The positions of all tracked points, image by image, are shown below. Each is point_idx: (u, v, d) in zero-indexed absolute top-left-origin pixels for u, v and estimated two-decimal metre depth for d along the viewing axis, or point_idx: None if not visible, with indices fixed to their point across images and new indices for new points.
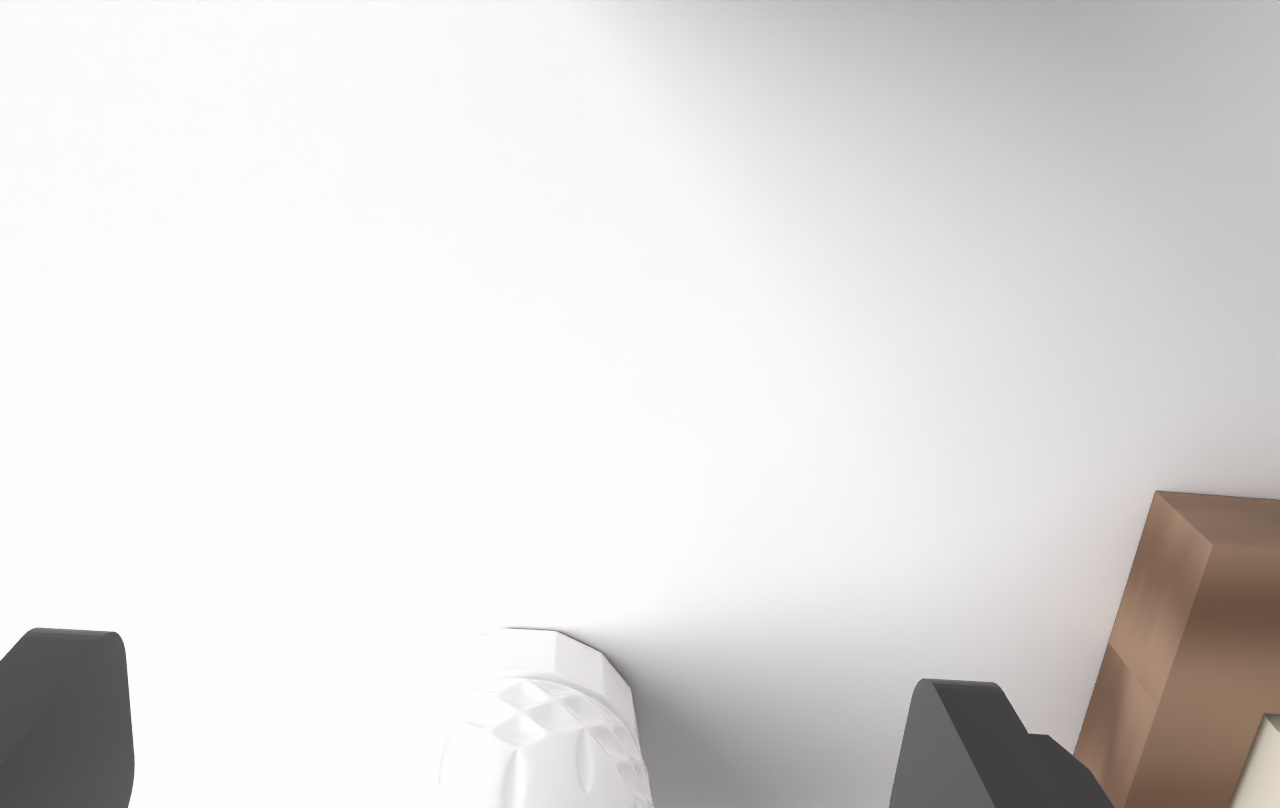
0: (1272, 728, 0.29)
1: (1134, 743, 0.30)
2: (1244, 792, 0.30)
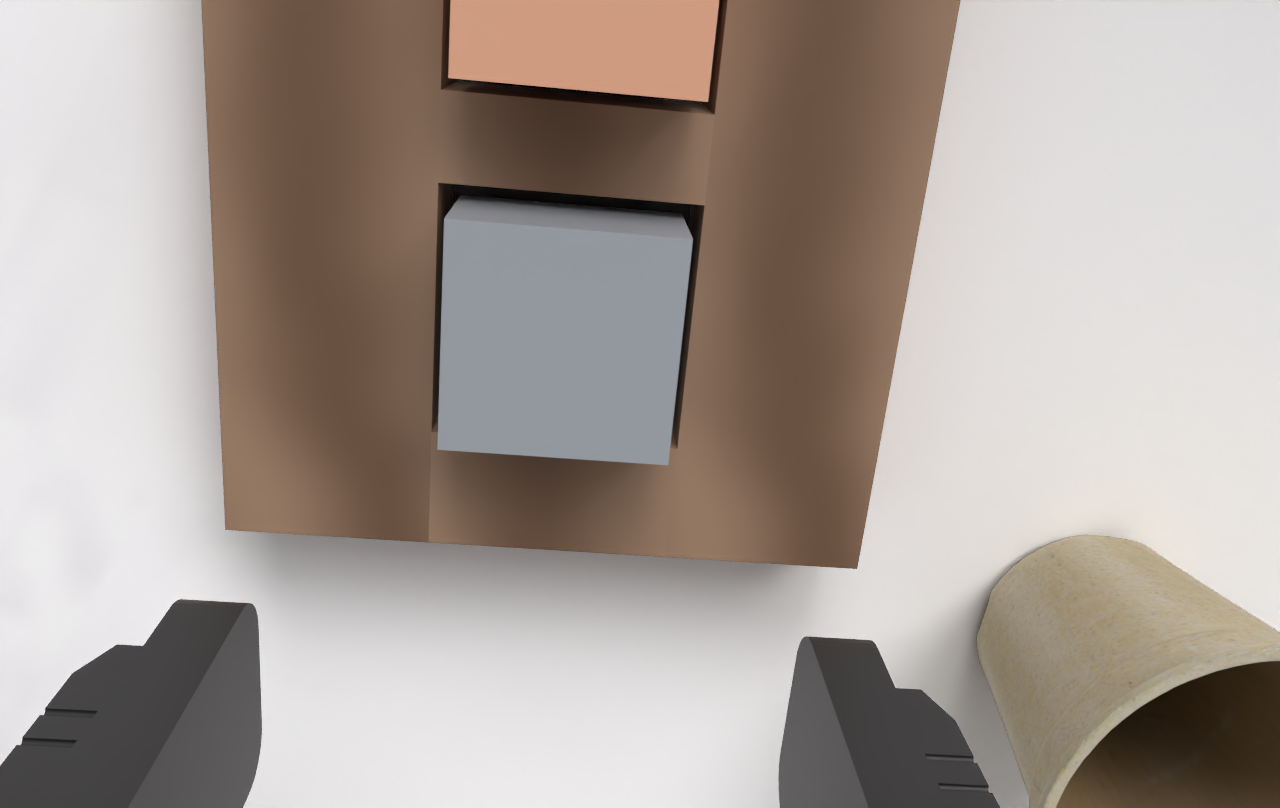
0: None
1: None
2: None
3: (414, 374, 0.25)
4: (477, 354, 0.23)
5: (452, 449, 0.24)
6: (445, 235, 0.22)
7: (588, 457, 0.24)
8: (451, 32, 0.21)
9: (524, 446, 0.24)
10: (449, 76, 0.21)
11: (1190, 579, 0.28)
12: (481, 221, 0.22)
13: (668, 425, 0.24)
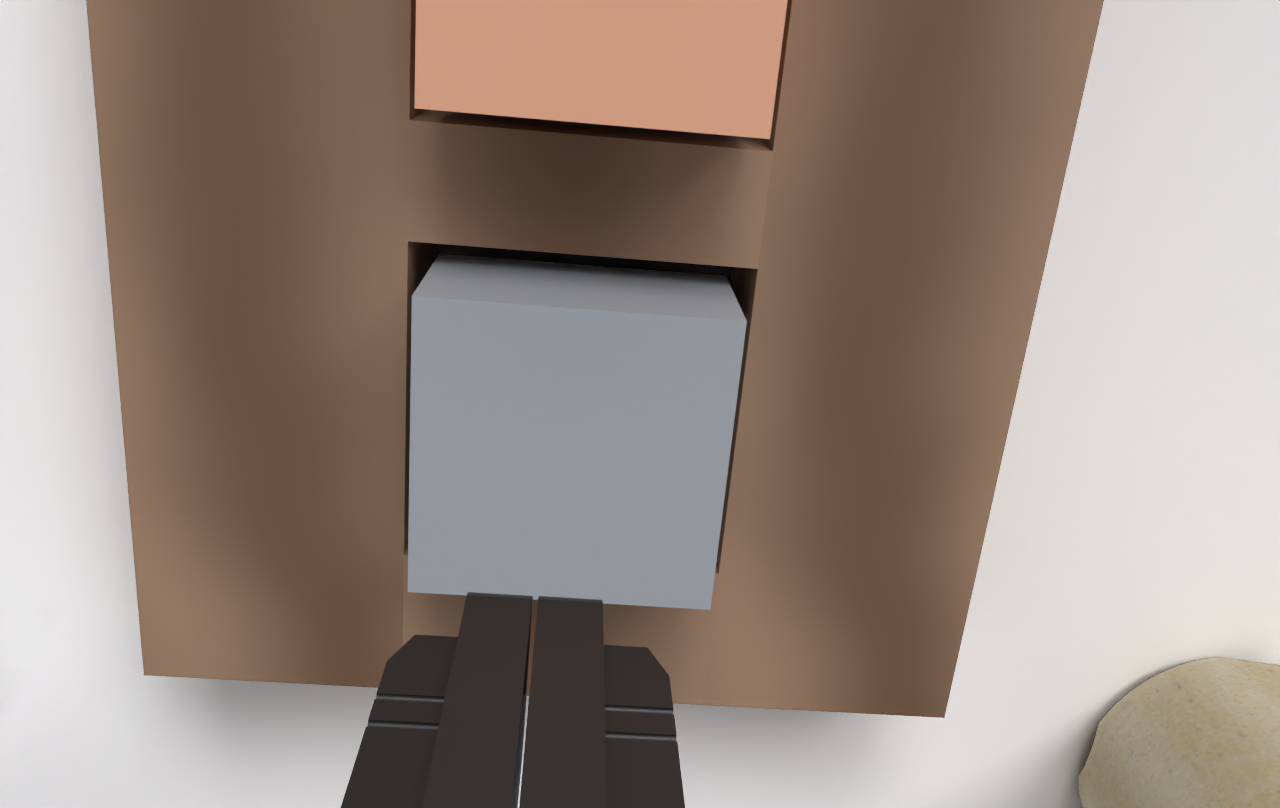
0: None
1: None
2: None
3: (381, 483, 0.20)
4: (458, 471, 0.18)
5: (427, 591, 0.18)
6: (413, 318, 0.17)
7: (605, 599, 0.19)
8: (418, 46, 0.15)
9: (521, 587, 0.18)
10: (416, 106, 0.15)
11: None
12: (462, 299, 0.17)
13: (711, 560, 0.18)
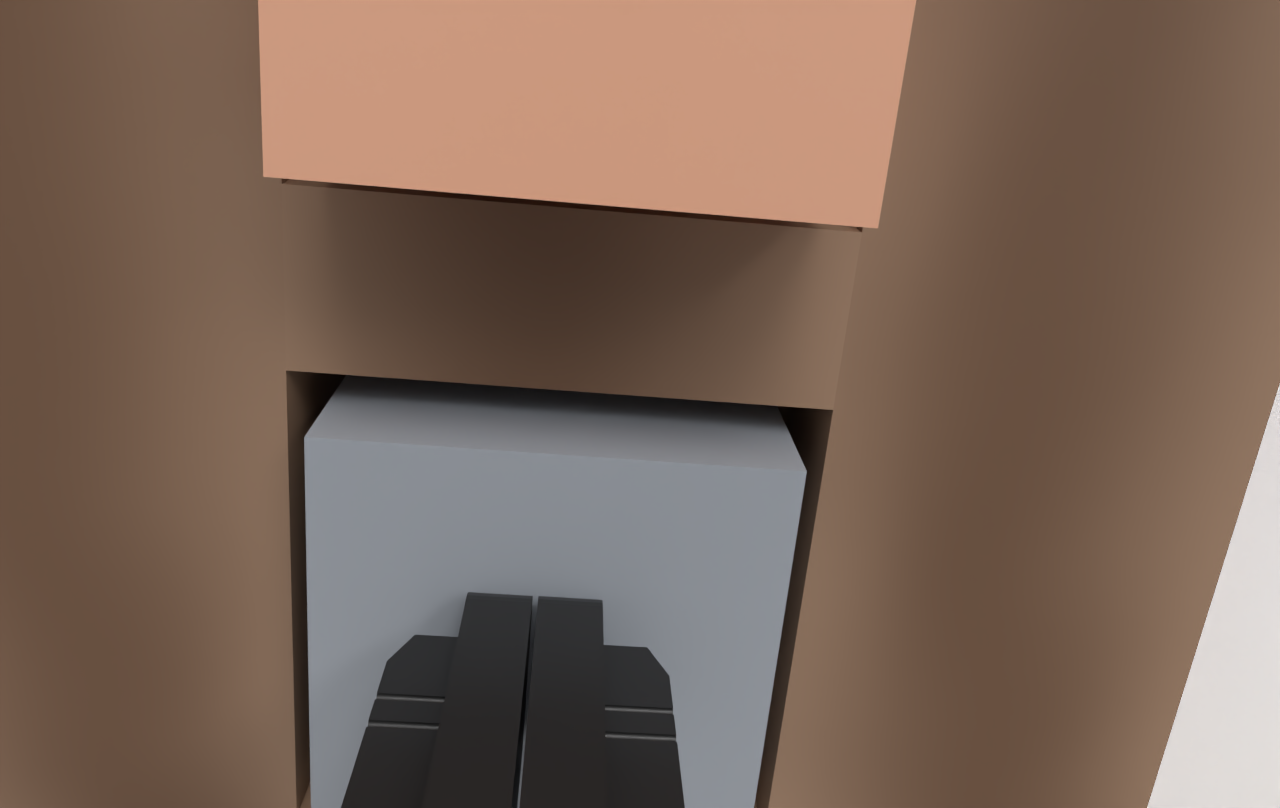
0: None
1: None
2: None
3: (259, 720, 0.13)
4: None
5: None
6: (307, 469, 0.11)
7: None
8: (265, 68, 0.09)
9: None
10: (265, 173, 0.09)
11: None
12: (381, 440, 0.11)
13: (747, 797, 0.13)
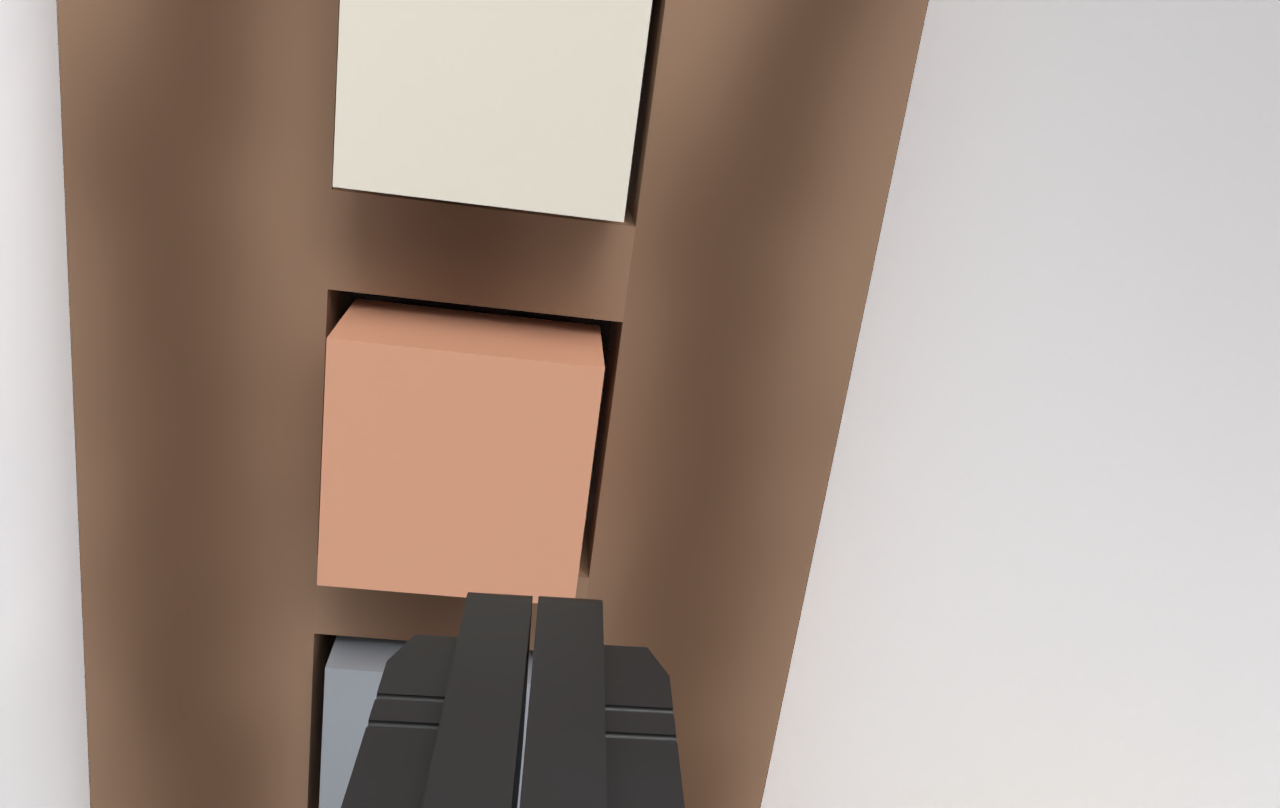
0: None
1: None
2: None
3: (289, 797, 0.26)
4: None
5: None
6: (326, 682, 0.24)
7: None
8: (320, 546, 0.21)
9: None
10: (318, 584, 0.22)
11: None
12: (360, 669, 0.24)
13: None
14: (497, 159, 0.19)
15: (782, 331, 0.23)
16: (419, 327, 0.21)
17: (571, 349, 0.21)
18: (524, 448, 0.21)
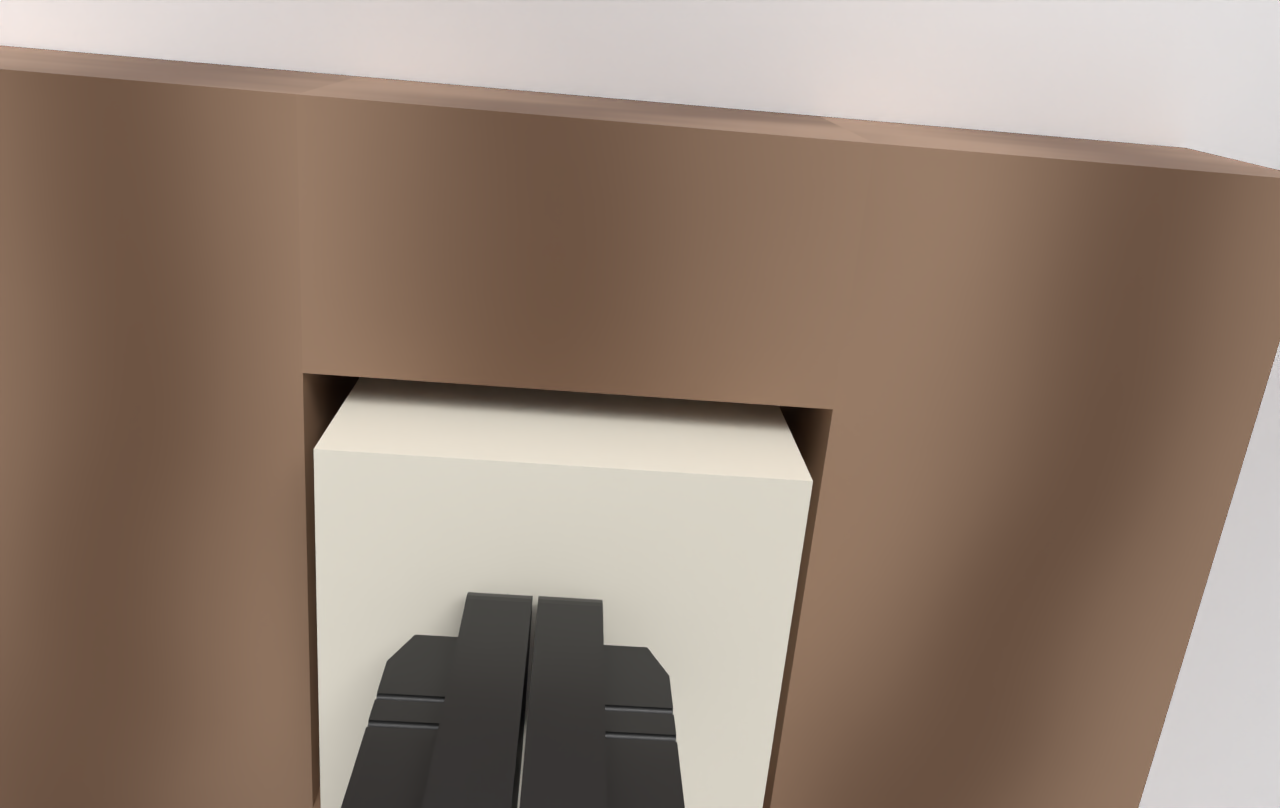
0: (775, 414, 0.13)
1: (722, 126, 0.12)
2: (588, 398, 0.13)
3: None
4: None
5: None
6: None
7: None
8: None
9: None
10: None
11: None
12: None
13: None
14: None
15: None
16: None
17: None
18: None
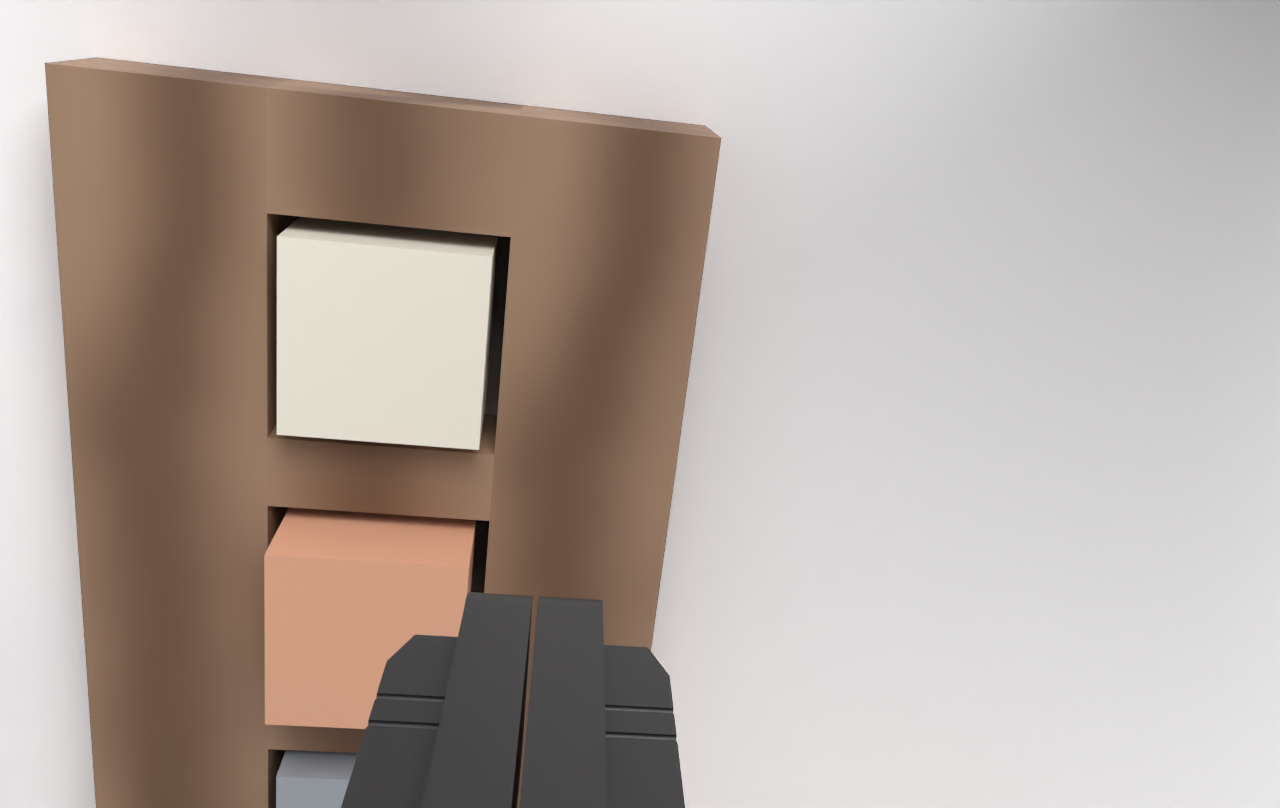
0: (493, 240, 0.28)
1: (455, 107, 0.26)
2: (405, 231, 0.28)
3: None
4: None
5: None
6: (277, 787, 0.31)
7: None
8: (266, 697, 0.29)
9: None
10: (265, 723, 0.29)
11: None
12: (303, 776, 0.32)
13: None
14: (388, 413, 0.28)
15: (610, 523, 0.30)
16: (336, 534, 0.29)
17: (448, 548, 0.29)
18: (413, 624, 0.29)
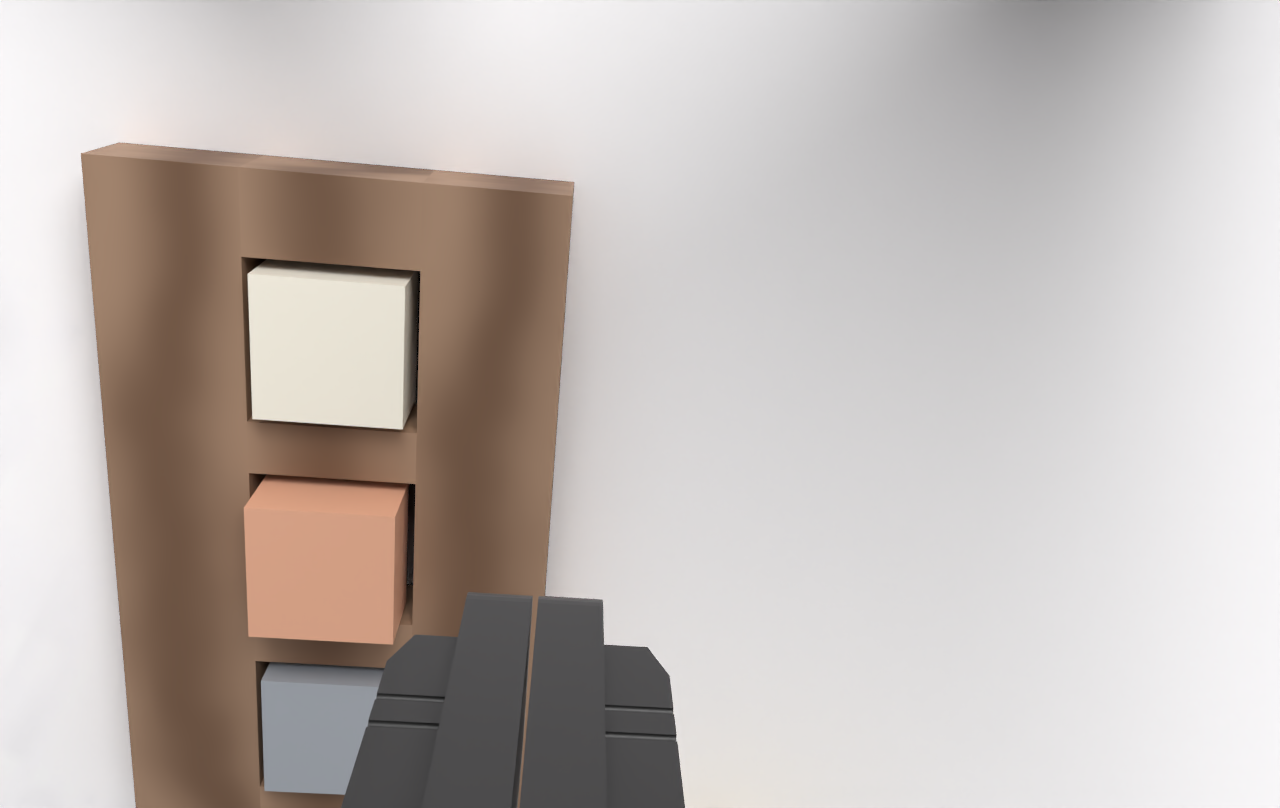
0: (411, 272, 0.38)
1: (376, 176, 0.36)
2: (346, 266, 0.38)
3: (247, 756, 0.43)
4: (283, 744, 0.42)
5: (272, 790, 0.43)
6: (261, 689, 0.41)
7: None
8: (248, 615, 0.39)
9: (313, 788, 0.43)
10: (249, 636, 0.39)
11: None
12: (281, 681, 0.41)
13: None
14: (334, 402, 0.37)
15: (507, 485, 0.40)
16: (299, 493, 0.39)
17: (382, 503, 0.39)
18: (355, 560, 0.38)
